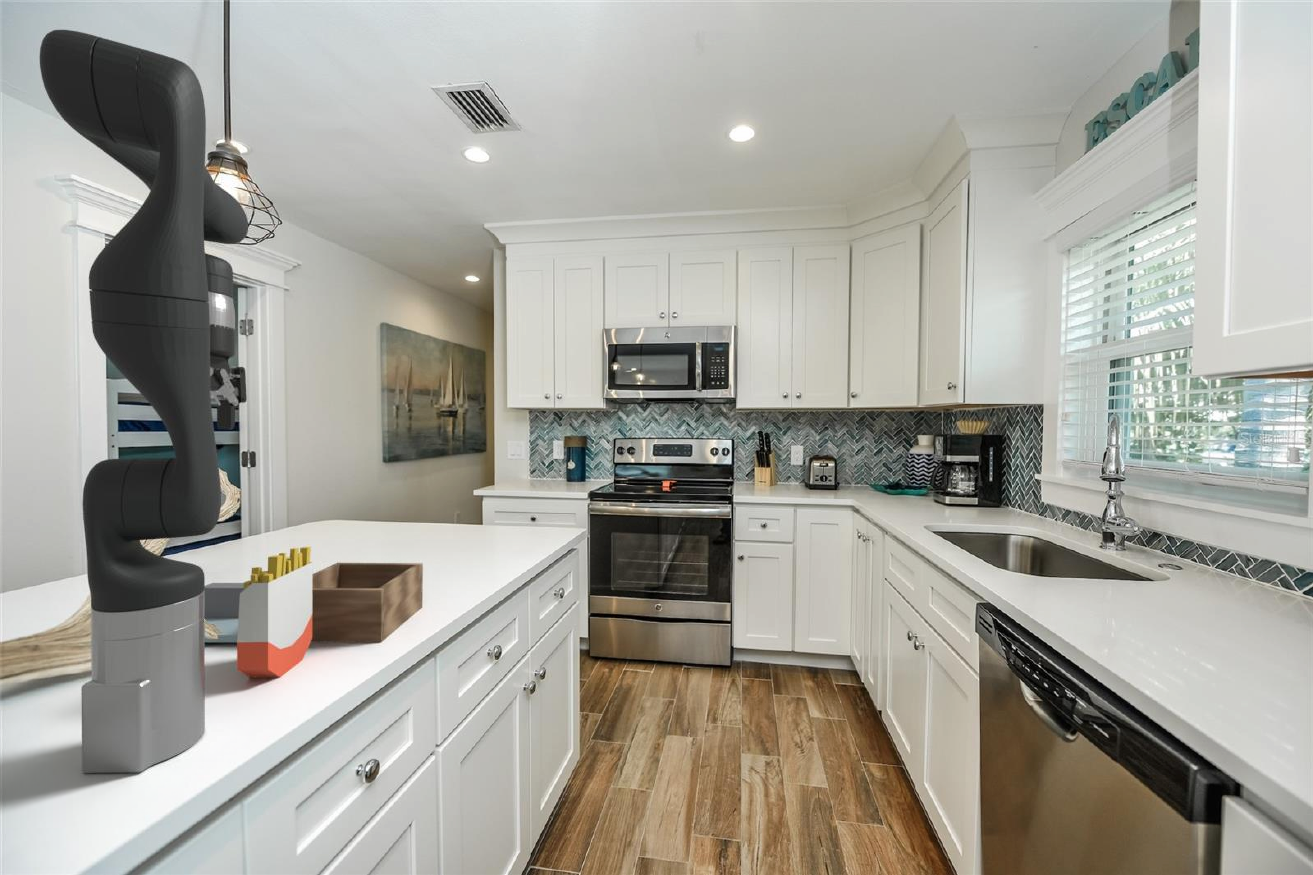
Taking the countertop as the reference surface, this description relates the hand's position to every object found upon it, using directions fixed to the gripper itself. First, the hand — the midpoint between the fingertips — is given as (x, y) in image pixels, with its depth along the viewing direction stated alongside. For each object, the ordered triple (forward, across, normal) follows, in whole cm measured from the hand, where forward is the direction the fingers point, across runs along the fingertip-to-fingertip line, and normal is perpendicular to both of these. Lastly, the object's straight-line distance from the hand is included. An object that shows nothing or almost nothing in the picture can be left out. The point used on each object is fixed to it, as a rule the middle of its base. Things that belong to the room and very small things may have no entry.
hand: (203, 429), depth 80 cm
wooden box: (+36, +15, -16) cm, 42 cm away
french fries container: (+36, -3, -13) cm, 39 cm away
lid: (+36, +14, +7) cm, 39 cm away
